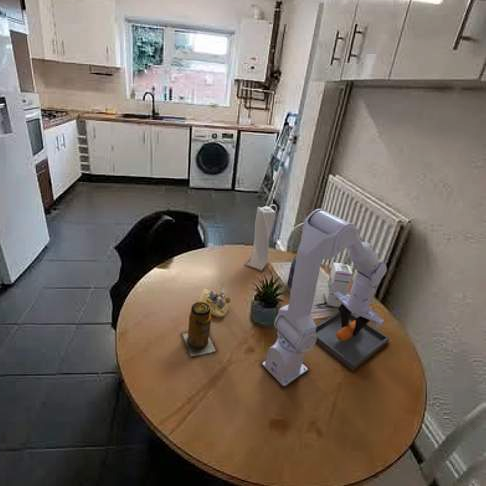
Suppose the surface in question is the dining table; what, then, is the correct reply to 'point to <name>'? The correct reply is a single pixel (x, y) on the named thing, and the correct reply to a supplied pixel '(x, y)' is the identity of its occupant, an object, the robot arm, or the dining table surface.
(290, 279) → the soda can
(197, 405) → the dining table surface
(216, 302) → the cake
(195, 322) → the condiment
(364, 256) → the robot arm
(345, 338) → the carrot
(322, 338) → the gray tray
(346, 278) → the syrup box
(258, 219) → the skyscraper
